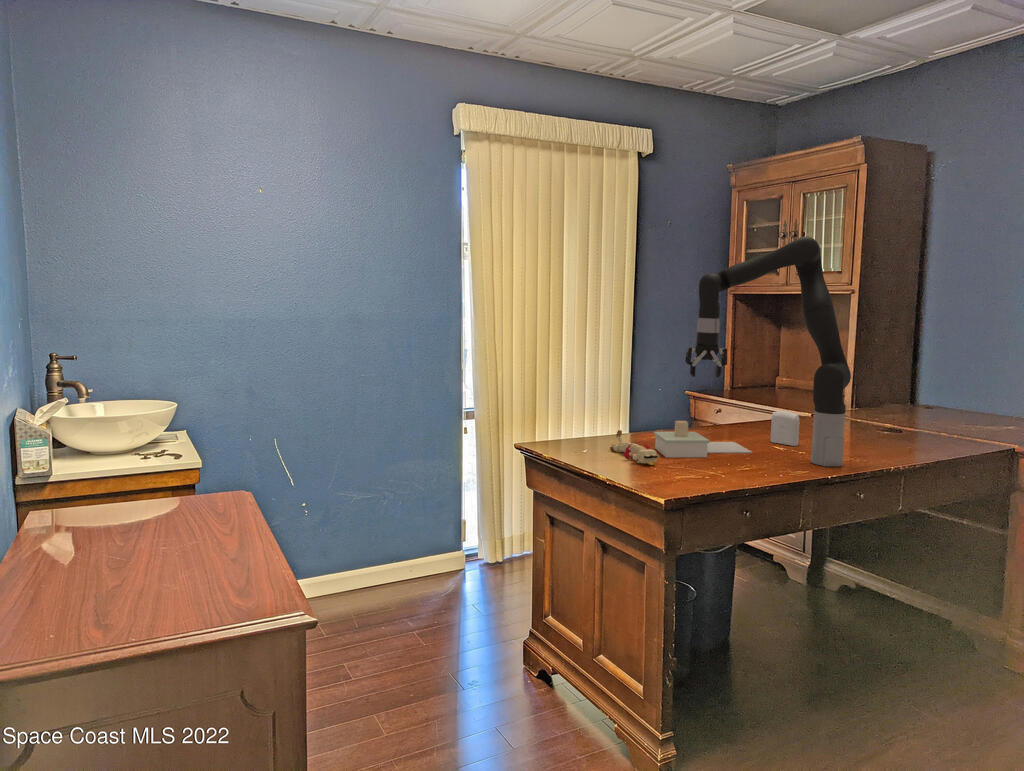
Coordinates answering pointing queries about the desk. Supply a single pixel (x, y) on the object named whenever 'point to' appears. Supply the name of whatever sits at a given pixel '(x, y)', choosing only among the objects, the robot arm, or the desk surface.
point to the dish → (681, 449)
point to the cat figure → (635, 451)
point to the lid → (681, 435)
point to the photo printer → (785, 428)
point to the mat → (726, 448)
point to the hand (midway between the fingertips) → (705, 376)
